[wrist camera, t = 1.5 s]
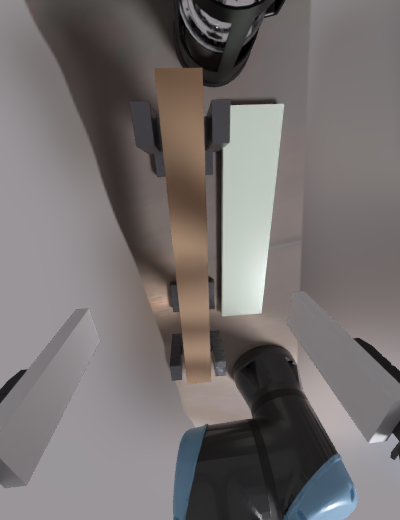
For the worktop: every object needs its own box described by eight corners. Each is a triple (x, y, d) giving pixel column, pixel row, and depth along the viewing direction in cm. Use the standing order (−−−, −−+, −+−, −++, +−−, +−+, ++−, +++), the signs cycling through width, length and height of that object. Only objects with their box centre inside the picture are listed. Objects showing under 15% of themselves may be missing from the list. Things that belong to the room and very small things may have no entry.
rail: (208, 360, 27) (211, 381, 24) (187, 362, 27) (187, 384, 24) (199, 88, 15) (202, 67, 12) (160, 89, 15) (154, 68, 12)
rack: (213, 305, 38) (231, 384, 24) (173, 308, 38) (166, 390, 23) (210, 126, 26) (244, 61, 12) (152, 128, 26) (109, 63, 11)
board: (259, 309, 39) (261, 313, 38) (221, 312, 39) (222, 316, 38) (279, 107, 26) (284, 103, 25) (221, 108, 25) (223, 105, 24)
